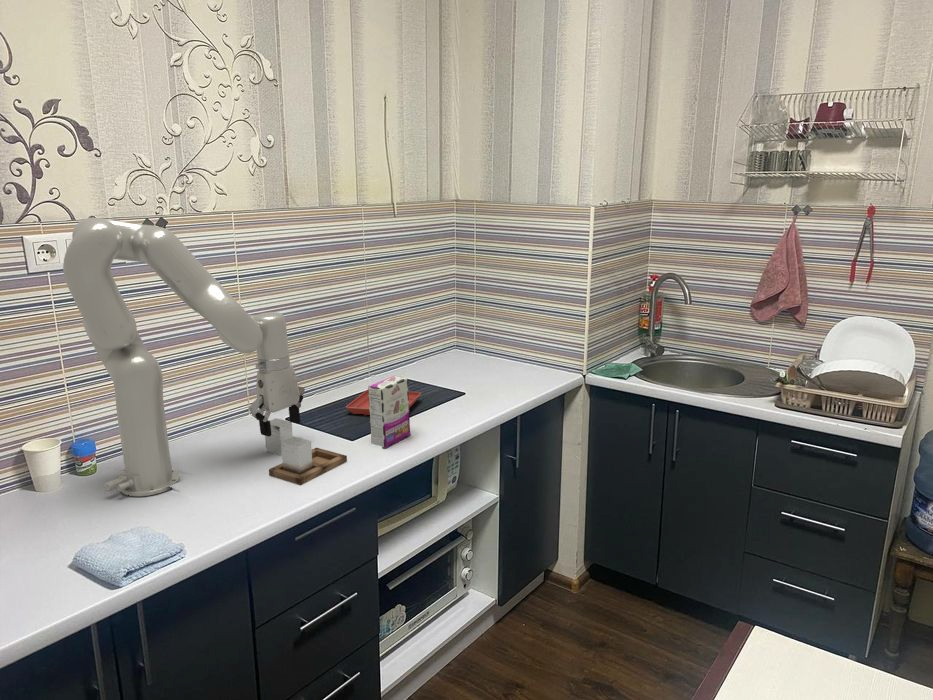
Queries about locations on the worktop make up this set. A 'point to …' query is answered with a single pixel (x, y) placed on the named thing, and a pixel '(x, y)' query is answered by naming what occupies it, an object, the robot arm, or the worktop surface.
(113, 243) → the robot arm
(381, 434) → the candy bar box
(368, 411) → the plant saucer
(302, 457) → the block
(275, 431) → the billet
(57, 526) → the worktop surface
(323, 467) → the wooden divided tray
